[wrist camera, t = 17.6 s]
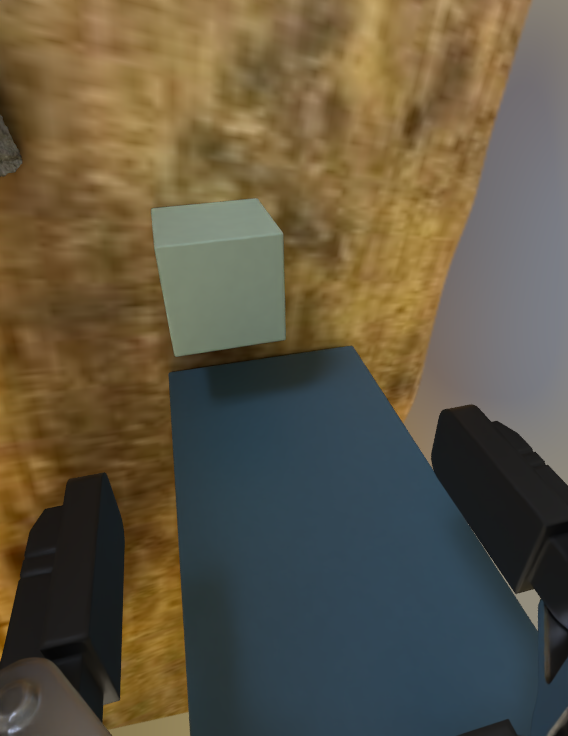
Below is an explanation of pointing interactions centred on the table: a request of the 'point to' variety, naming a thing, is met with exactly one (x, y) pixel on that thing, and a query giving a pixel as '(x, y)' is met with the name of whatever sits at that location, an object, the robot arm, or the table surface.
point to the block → (220, 275)
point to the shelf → (331, 565)
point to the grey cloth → (8, 151)
